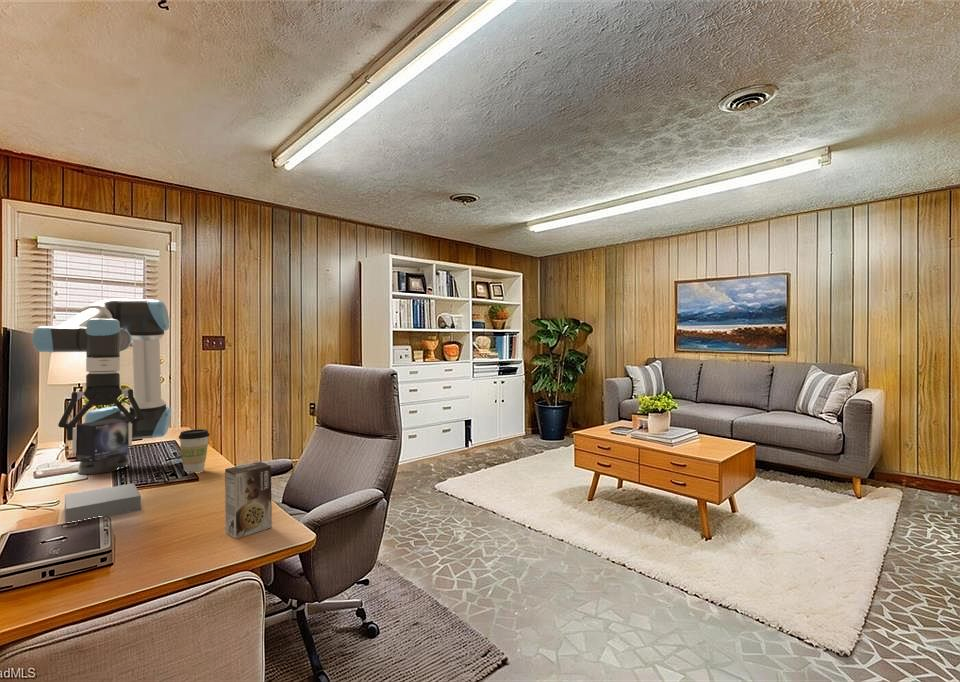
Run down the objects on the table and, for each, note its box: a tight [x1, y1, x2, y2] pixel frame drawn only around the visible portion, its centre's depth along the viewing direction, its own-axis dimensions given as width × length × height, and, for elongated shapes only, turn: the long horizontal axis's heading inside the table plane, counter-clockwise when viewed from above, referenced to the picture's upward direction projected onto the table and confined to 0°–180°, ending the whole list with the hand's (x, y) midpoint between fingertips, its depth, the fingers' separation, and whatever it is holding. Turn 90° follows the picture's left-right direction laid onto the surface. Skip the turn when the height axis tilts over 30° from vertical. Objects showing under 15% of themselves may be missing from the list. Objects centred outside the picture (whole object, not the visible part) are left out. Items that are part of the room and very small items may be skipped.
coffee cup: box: [178, 428, 210, 473], centre depth 172 cm, size 10×10×15 cm
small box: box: [75, 419, 129, 463], centre depth 134 cm, size 11×6×10 cm, turn 168°
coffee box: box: [224, 461, 273, 539], centre depth 118 cm, size 9×6×16 cm
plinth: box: [64, 483, 142, 524], centre depth 134 cm, size 16×16×4 cm
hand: (102, 448), depth 134 cm, fingers closed on small box, 12 cm apart
